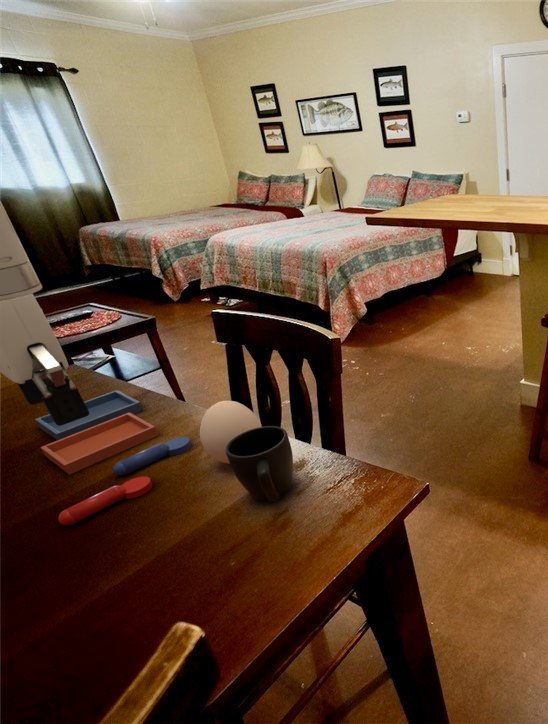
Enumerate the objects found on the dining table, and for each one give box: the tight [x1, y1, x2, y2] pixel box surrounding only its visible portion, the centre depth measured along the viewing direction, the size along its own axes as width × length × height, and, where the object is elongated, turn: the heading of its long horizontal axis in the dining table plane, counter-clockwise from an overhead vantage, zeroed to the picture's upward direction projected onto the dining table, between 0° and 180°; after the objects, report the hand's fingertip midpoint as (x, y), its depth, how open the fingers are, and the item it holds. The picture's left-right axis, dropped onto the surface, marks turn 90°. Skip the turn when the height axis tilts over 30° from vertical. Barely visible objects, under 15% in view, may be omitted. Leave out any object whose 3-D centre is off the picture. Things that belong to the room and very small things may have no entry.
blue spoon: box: [112, 436, 192, 477], centre depth 82 cm, size 11×4×2 cm, turn 150°
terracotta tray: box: [40, 413, 159, 476], centre depth 86 cm, size 13×10×2 cm
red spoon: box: [57, 475, 154, 526], centre depth 72 cm, size 11×4×2 cm, turn 150°
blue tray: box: [34, 389, 144, 441], centre depth 94 cm, size 13×10×2 cm
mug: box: [225, 425, 294, 503], centre depth 72 cm, size 8×12×10 cm
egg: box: [199, 400, 262, 464], centre depth 80 cm, size 9×9×12 cm
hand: (59, 409), depth 62 cm, fingers open, 9 cm apart
